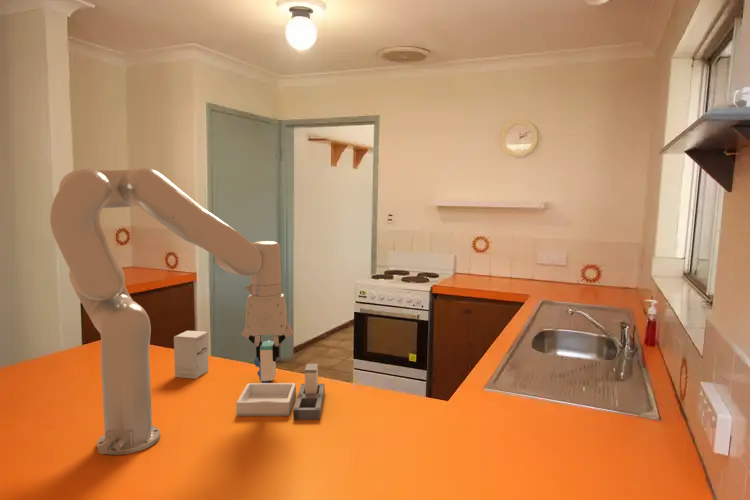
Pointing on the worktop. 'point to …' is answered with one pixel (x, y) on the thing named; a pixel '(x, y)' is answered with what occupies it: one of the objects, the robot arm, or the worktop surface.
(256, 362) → the grapes
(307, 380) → the block
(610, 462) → the worktop surface
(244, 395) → the tray
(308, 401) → the frame
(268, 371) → the block
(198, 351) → the supplement box
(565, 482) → the worktop surface
